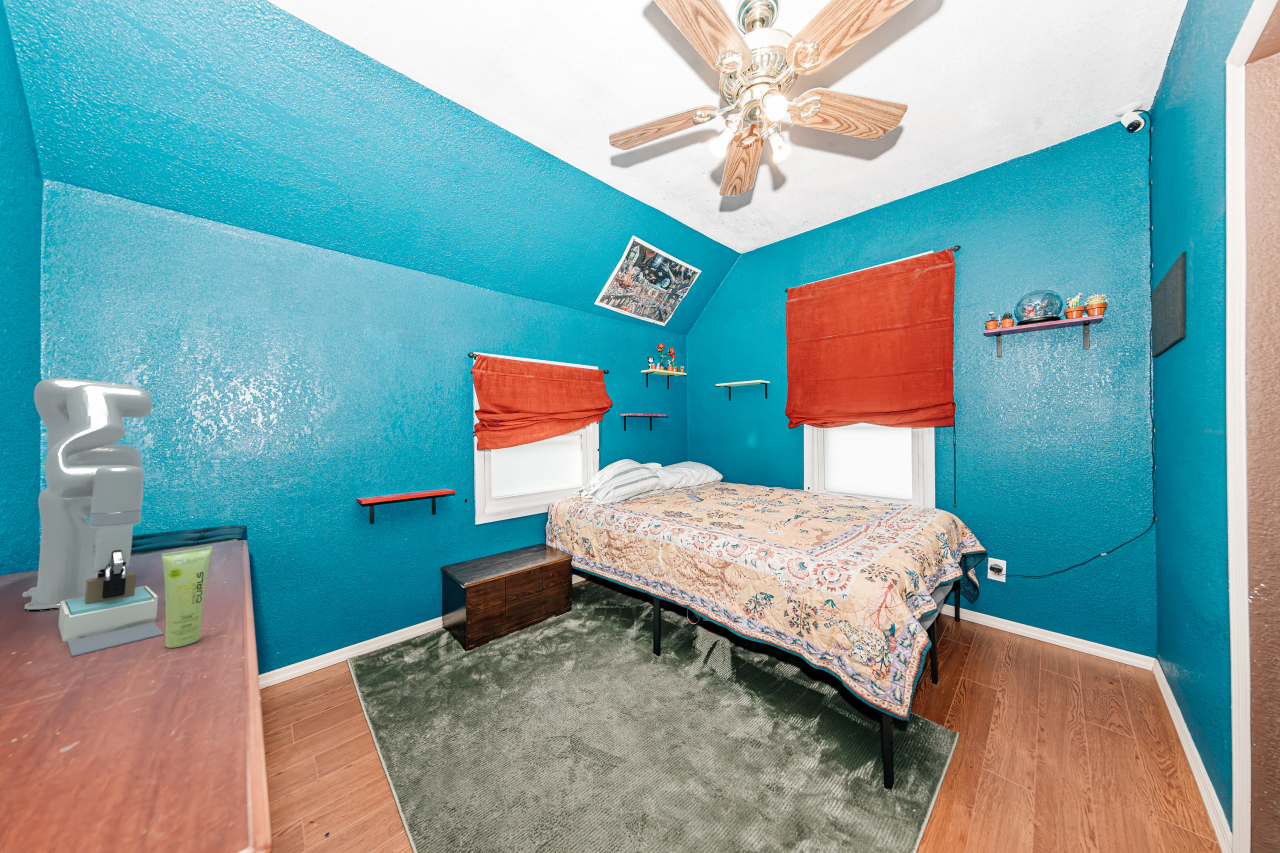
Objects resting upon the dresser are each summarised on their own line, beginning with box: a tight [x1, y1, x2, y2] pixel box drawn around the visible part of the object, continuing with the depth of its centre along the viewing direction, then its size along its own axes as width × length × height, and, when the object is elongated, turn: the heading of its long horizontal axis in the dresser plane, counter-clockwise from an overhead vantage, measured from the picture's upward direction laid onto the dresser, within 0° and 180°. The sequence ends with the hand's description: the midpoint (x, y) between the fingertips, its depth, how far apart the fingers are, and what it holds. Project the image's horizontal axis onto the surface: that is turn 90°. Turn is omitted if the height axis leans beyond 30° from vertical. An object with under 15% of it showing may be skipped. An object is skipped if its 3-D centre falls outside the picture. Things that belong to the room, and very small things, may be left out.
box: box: [57, 585, 159, 643], centre depth 98 cm, size 14×13×6 cm
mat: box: [66, 622, 165, 658], centre depth 90 cm, size 11×12×1 cm
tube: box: [160, 546, 214, 649], centre depth 89 cm, size 6×5×20 cm
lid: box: [66, 571, 152, 616], centre depth 98 cm, size 12×11×6 cm
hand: (110, 592), depth 98 cm, fingers open, 9 cm apart
